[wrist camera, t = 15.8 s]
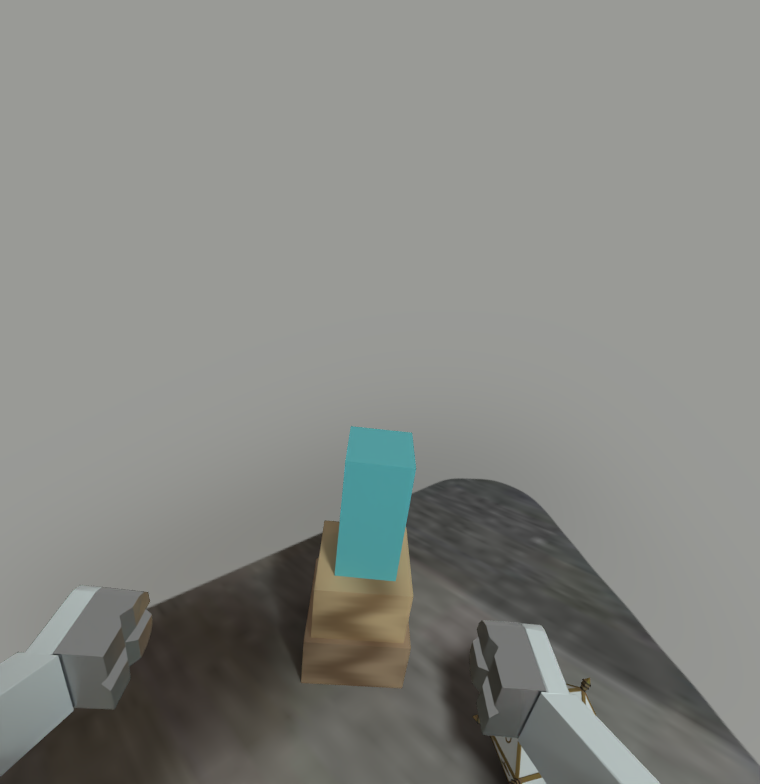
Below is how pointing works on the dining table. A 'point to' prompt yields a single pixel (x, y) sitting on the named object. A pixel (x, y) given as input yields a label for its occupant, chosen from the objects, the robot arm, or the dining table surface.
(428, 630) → the dining table surface
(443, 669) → the dining table surface
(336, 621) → the oak top block
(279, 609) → the dining table surface
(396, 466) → the teal pillar
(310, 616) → the walnut base block
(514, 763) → the game die
